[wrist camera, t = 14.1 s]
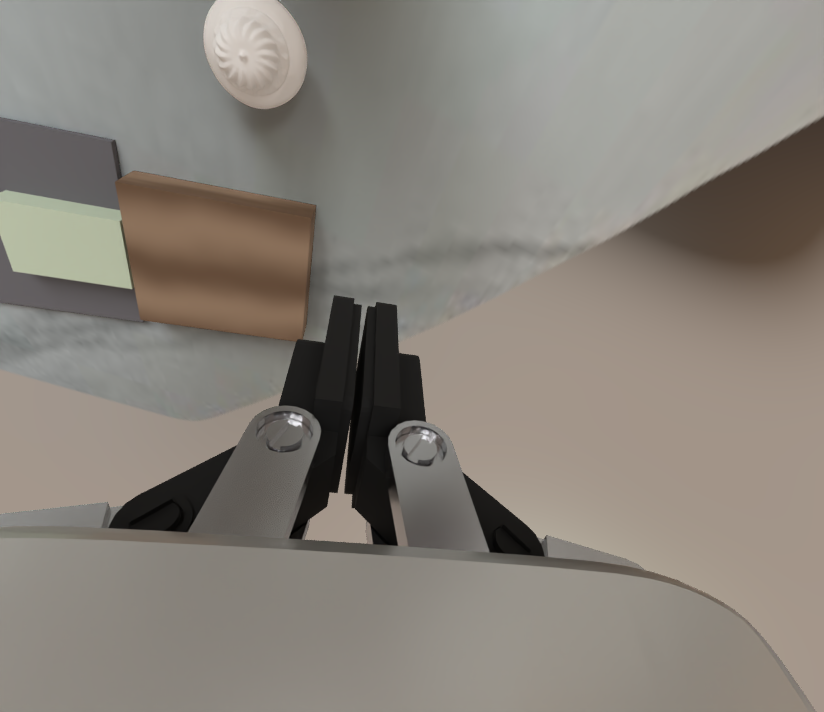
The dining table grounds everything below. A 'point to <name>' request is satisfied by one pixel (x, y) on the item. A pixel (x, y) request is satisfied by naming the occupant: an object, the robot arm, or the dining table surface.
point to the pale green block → (64, 239)
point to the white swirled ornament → (255, 51)
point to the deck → (217, 256)
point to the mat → (70, 181)
